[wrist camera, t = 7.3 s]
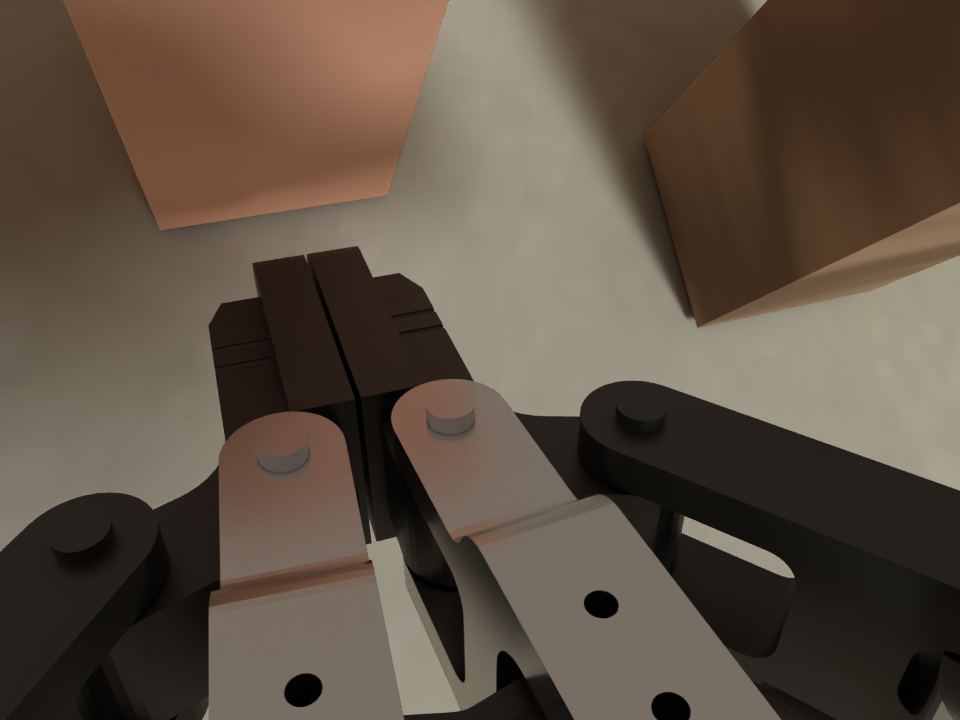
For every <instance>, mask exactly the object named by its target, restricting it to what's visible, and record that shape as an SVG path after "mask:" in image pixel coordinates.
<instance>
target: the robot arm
mask: <svg viewBox="0 0 960 720" xmlns="http://www.w3.org/2000/svg"><path fill="white" fill-rule="evenodd" d="M252 264H253V271H254V277H255V283H256V288H257V294H258V297H257V298H251V299H245V300H239V301H233V302H228V303H222V304H221V305H220V307H219V308H218V310H217V312H216V314H215V315H214V317H213V319H212V321H211V322H210V324H209V333H210V339H211V346H212V352H213V360H214V366H215V371H216V372H215V373H216V380H217V387H218V393H219V400H220V407H221V414H222V420H223V427H224V434H225V444H224V445H223V447H222V449H221V452H220V455H219V465H218V467H217V468H216V469H215V471H214V472H213V473H212V474H211V475H210V476H209V477H208V478H207V479H206V480H205V481H204V482H203V483H201V484H200V485H199V486H198V487H196V488H195V489H193V490H192V491H190V492H189V493H187V494H185V495H183V496H181V497H179V498H177V499H175V500H173V501H171V502H169V503H166V504H164V505H162V506H160V507H158V508H156V509H154V510H152V508H151V507H150V506H149V505H148V504H147V503H145V502H144V501H142V500H140V499H139V498H136V497H134V496H131V495H127V494H122V493H96V494H91V495H85V496H81V497H78V498H75V499H71V500H69V501H66V502H64V503H62V504H59V505H57V506H55V507H54V508H52V509H50V510H48V511H46V512H45V513H43V514H42V515H40V516H39V517H38V518H36V519H35V520H34V521H33V522H32V523H30V524H29V525H28V526H27V527H26V528H25V529H24V530H23V531H22V532H21V533H20V534H19V535H18V536H17V537H15V538H14V539H13V540H12V541H11V542H10V543H9V544H8V545H7V546H6V547H5V548H4V549H3V550H2V551H1V552H0V720H202V719H203V717H204V715H205V713H206V710H207V707H208V704H209V720H960V491H959V490H956V489H953V488H951V487H948V486H945V485H942V484H939V483H936V482H934V481H931V480H928V479H925V478H922V477H920V476H917V475H914V474H911V473H908V472H905V471H903V470H900V469H897V468H894V467H891V466H888V465H886V464H883V463H880V462H877V461H874V460H871V459H869V458H866V457H863V456H860V455H857V454H855V453H852V452H849V451H846V450H843V449H840V448H838V447H835V446H832V445H829V444H826V443H823V442H821V441H818V440H815V439H812V438H809V437H807V436H804V435H801V434H798V433H795V432H792V431H790V430H787V429H784V428H781V427H778V426H775V425H773V424H770V423H767V422H764V421H761V420H758V419H756V418H753V417H750V416H747V415H744V414H742V413H739V412H736V411H733V410H730V409H727V408H725V407H722V406H719V405H716V404H713V403H710V402H708V401H705V400H702V399H699V398H696V397H694V396H691V395H688V394H685V393H682V392H679V391H677V390H674V389H671V388H668V387H665V386H662V385H659V384H655V383H650V382H645V381H621V382H615V383H611V384H607V385H604V386H602V387H599V388H598V389H596V390H594V391H593V392H592V393H590V394H589V395H588V396H587V397H586V399H585V400H584V401H583V403H582V406H581V411H580V417H564V416H532V415H526V414H520V413H517V412H513V411H512V409H511V408H510V406H509V405H508V404H507V402H506V401H505V400H504V398H503V397H502V396H501V395H500V394H499V393H497V392H496V391H495V390H493V389H491V388H490V387H488V386H486V385H483V384H480V383H478V382H474V380H473V379H472V377H471V375H470V373H469V371H468V370H467V368H466V366H465V364H464V362H463V360H462V359H461V357H460V355H459V353H458V351H457V350H456V348H455V346H454V344H453V342H452V341H451V339H450V337H449V335H448V333H447V331H446V330H445V328H443V325H442V322H441V321H440V319H439V317H438V315H437V313H436V312H434V308H433V306H432V304H431V302H430V301H429V299H428V297H427V295H426V293H425V291H424V290H423V288H422V287H420V286H418V285H417V284H415V283H414V282H412V281H411V280H409V279H408V278H406V277H404V276H403V275H401V274H400V273H397V274H391V275H386V276H380V277H374V278H373V277H372V275H371V273H370V271H369V268H368V266H367V264H366V262H365V260H364V258H363V256H362V253H361V251H360V249H359V248H358V246H355V247H349V248H343V249H336V250H330V251H324V252H318V253H311V254H307V262H306V259H305V257H304V255H300V256H294V257H287V258H281V259H275V260H268V261H262V262H256V263H252ZM684 516H686V517H688V518H691V519H693V520H696V521H698V522H700V523H703V524H705V525H707V526H710V527H712V528H714V529H717V530H719V531H722V532H724V533H726V534H729V535H731V536H733V537H736V538H738V539H741V540H743V541H745V542H748V543H750V544H752V545H755V546H757V547H760V548H762V549H764V550H767V551H769V552H771V553H773V554H775V555H776V556H778V557H779V558H780V559H782V560H783V561H784V562H785V563H786V564H787V565H788V566H789V568H790V569H791V570H792V572H793V574H794V577H795V578H787V577H783V576H780V575H777V574H775V573H773V572H770V571H768V570H766V569H763V568H761V567H759V566H756V565H754V564H752V563H750V562H747V561H745V560H743V559H740V558H738V557H736V556H733V555H731V554H729V553H726V552H724V551H722V550H719V549H717V548H715V547H712V546H710V545H708V544H706V543H703V542H701V541H699V540H696V539H694V538H692V537H689V536H687V535H685V534H682V533H681V532H682V527H683V521H684ZM369 519H370V522H371V525H372V528H373V532H374V535H375V538H376V541H381V540H385V539H389V538H393V537H397V539H398V542H399V545H400V548H401V551H402V553H403V562H404V574H405V584H406V587H407V590H408V592H409V594H410V597H411V599H412V601H413V603H414V606H415V608H416V610H417V612H418V615H419V617H420V619H421V621H422V624H423V626H424V628H425V630H426V633H427V635H428V637H429V639H430V642H431V644H432V646H433V648H434V651H435V653H436V655H437V657H438V660H439V662H440V664H441V666H442V669H443V671H444V673H445V675H446V678H447V680H448V682H449V684H450V687H451V689H452V691H453V693H454V696H455V698H456V700H457V703H458V705H459V708H460V711H458V712H450V713H433V714H417V715H403V711H402V706H401V701H400V696H399V691H398V686H397V681H396V676H395V671H394V666H393V661H392V656H391V651H390V646H389V641H388V636H387V631H386V626H385V621H384V616H383V611H382V606H381V601H380V596H379V591H378V586H377V581H376V576H375V572H374V567H373V563H372V560H369V558H368V553H367V548H366V544H370V543H372V542H371V534H370V525H369Z"/></svg>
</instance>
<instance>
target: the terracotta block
mask: <svg viewBox="0 0 960 720" xmlns="http://www.w3.org/2000/svg"><path fill="white" fill-rule="evenodd" d="M448 1H449V0H63V2H64V4H65V7H66V9H67V11H68V14H69V16H70V19H71V21H72V23H73V26H74V28H75V30H76V33H77V35H78V37H79V40H80V42H81V45H82V47H83V49H84V52H85V54H86V56H87V59H88V61H89V64H90V66H91V68H92V71H93V73H94V75H95V78H96V80H97V82H98V85H99V87H100V90H101V92H102V94H103V97H104V99H105V101H106V104H107V106H108V109H109V111H110V113H111V116H112V118H113V120H114V123H115V125H116V127H117V130H118V132H119V135H120V137H121V139H122V142H123V144H124V146H125V149H126V151H127V154H128V156H129V158H130V161H131V163H132V165H133V168H134V170H135V173H136V175H137V177H138V180H139V182H140V184H141V187H142V189H143V191H144V194H145V196H146V199H147V201H148V203H149V206H150V208H151V210H152V213H153V215H154V218H155V220H156V222H157V225H158V227H159V229H160V230H166V229H173V228H179V227H186V226H192V225H199V224H205V223H211V222H218V221H224V220H231V219H237V218H244V217H250V216H257V215H263V214H270V213H276V212H282V211H289V210H295V209H302V208H308V207H315V206H321V205H328V204H334V203H341V202H347V201H354V200H360V199H366V198H373V197H379V196H386V195H388V192H389V189H390V186H391V183H392V180H393V176H394V173H395V170H396V167H397V164H398V160H399V157H400V154H401V151H402V148H403V145H404V141H405V138H406V135H407V132H408V129H409V125H410V122H411V119H412V116H413V113H414V109H415V106H416V103H417V100H418V97H419V94H420V90H421V87H422V84H423V81H424V78H425V74H426V71H427V68H428V65H429V62H430V58H431V55H432V52H433V49H434V46H435V43H436V39H437V36H438V33H439V30H440V27H441V23H442V20H443V17H444V14H445V11H446V7H447V4H448Z"/></svg>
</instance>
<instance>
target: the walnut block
mask: <svg viewBox="0 0 960 720" xmlns="http://www.w3.org/2000/svg"><path fill="white" fill-rule="evenodd" d="M644 139H645V142H646V146H647V149H648V153H649V156H650V160H651V164H652V167H653V171H654V174H655V178H656V181H657V185H658V188H659V192H660V196H661V199H662V203H663V206H664V210H665V213H666V217H667V221H668V224H669V228H670V231H671V235H672V238H673V242H674V245H675V249H676V253H677V256H678V260H679V263H680V267H681V270H682V274H683V277H684V281H685V285H686V288H687V292H688V295H689V299H690V302H691V306H692V310H693V313H694V317H695V320H696V324H697V327H698V328H699V327H703V326H708V325H713V324H717V323H722V322H727V321H731V320H736V319H741V318H745V317H750V316H755V315H759V314H764V313H769V312H773V311H778V310H783V309H787V308H792V307H797V306H801V305H806V304H811V303H815V302H820V301H825V300H829V299H834V298H839V297H843V296H848V295H853V294H857V293H862V292H867V291H871V290H873V289H876V288H878V287H881V286H884V285H886V284H889V283H891V282H894V281H896V280H899V279H901V278H904V277H906V276H909V275H911V274H914V273H916V272H919V271H921V270H924V269H926V268H929V267H931V266H934V265H936V264H939V263H941V262H944V261H946V260H949V259H951V258H954V257H956V256H959V255H960V0H767V2H766V3H765V4H764V5H763V6H762V7H761V8H760V9H759V10H758V11H757V12H756V14H755V15H754V16H753V17H752V18H751V19H750V20H749V21H748V22H747V23H746V24H745V25H744V27H743V28H742V29H741V30H740V31H739V32H738V33H737V34H736V35H735V36H734V37H733V38H732V40H731V41H730V42H729V43H728V44H727V45H726V46H725V47H724V48H723V49H722V50H721V51H720V53H719V54H718V55H717V56H716V57H715V58H714V59H713V60H712V61H711V62H710V63H709V64H708V66H707V67H706V68H705V69H704V70H703V71H702V72H701V73H700V74H699V75H698V76H697V78H696V79H695V80H694V81H693V82H692V83H691V84H690V85H689V86H688V87H687V88H686V89H685V91H684V92H683V93H682V94H681V95H680V96H679V97H678V98H677V99H676V100H675V101H674V102H673V104H672V105H671V106H670V107H669V108H668V109H667V110H666V111H665V112H664V113H663V114H662V115H661V117H660V118H659V119H658V120H657V121H656V122H655V123H654V124H653V125H652V126H651V127H650V129H649V130H648V131H647V132H646V133H645V134H644Z"/></svg>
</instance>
